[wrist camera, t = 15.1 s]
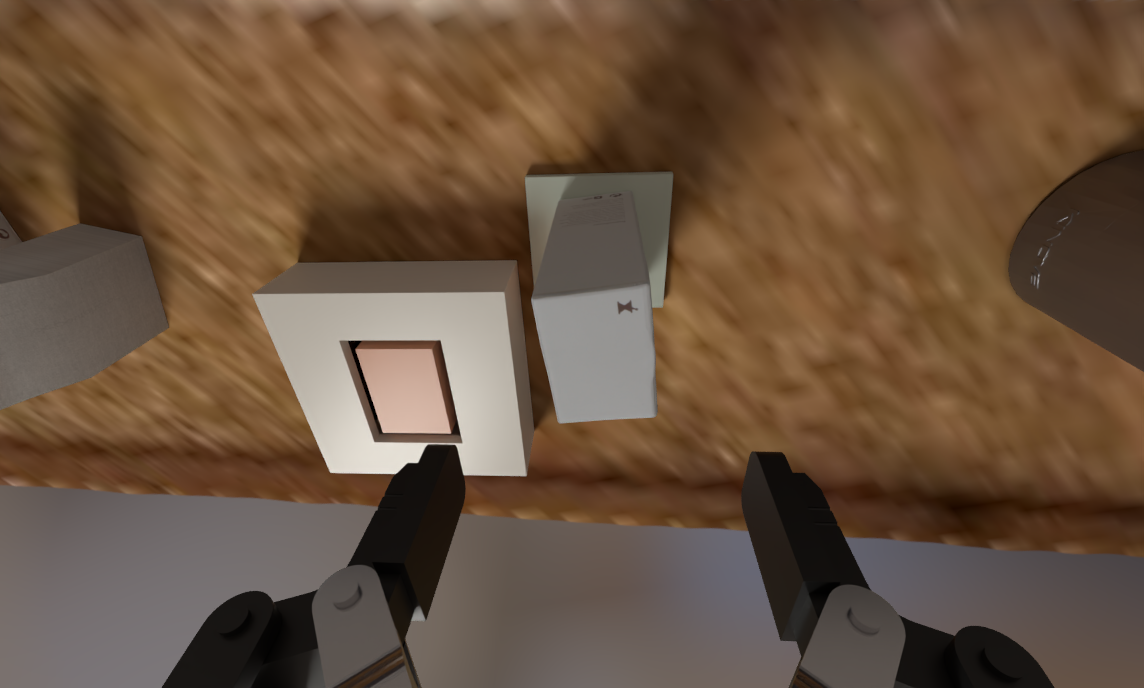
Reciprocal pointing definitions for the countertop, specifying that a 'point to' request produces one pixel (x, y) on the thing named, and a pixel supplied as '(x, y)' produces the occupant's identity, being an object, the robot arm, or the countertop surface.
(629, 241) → the skincare box
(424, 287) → the frame
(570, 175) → the mat
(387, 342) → the button
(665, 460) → the countertop surface
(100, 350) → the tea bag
